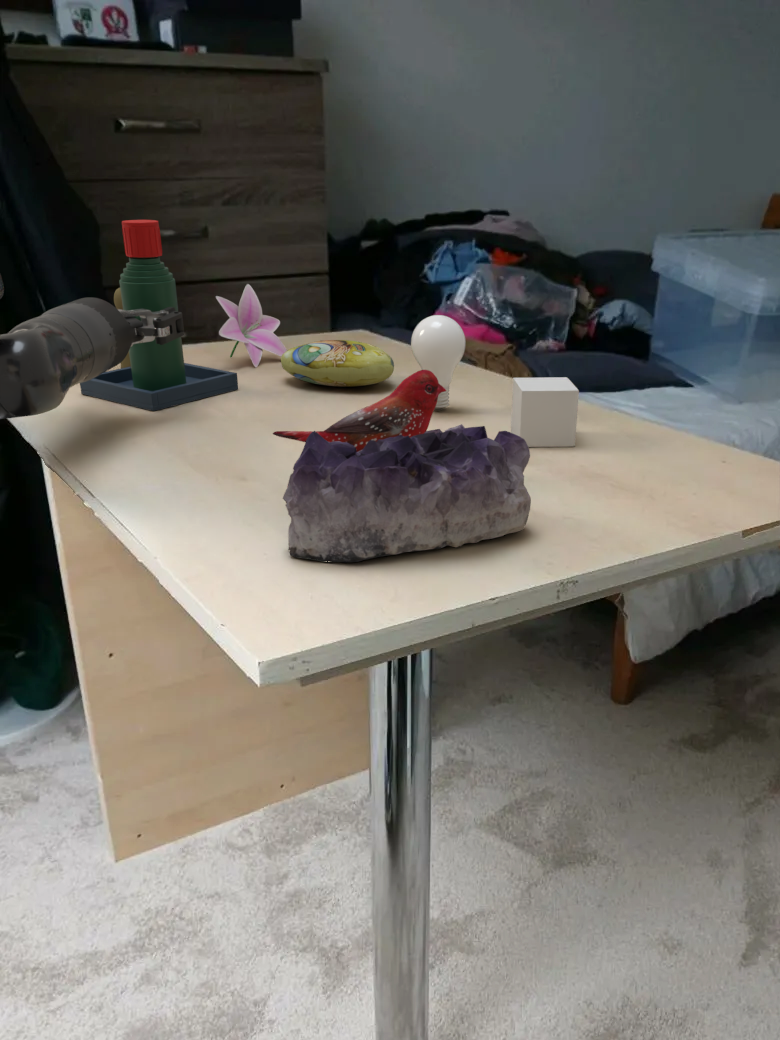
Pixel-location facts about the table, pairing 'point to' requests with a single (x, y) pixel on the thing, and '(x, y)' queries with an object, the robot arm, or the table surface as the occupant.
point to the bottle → (153, 291)
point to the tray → (197, 387)
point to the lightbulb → (439, 350)
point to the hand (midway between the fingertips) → (137, 315)
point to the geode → (405, 493)
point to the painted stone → (338, 363)
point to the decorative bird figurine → (385, 414)
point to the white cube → (545, 411)
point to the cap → (142, 238)
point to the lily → (251, 326)
